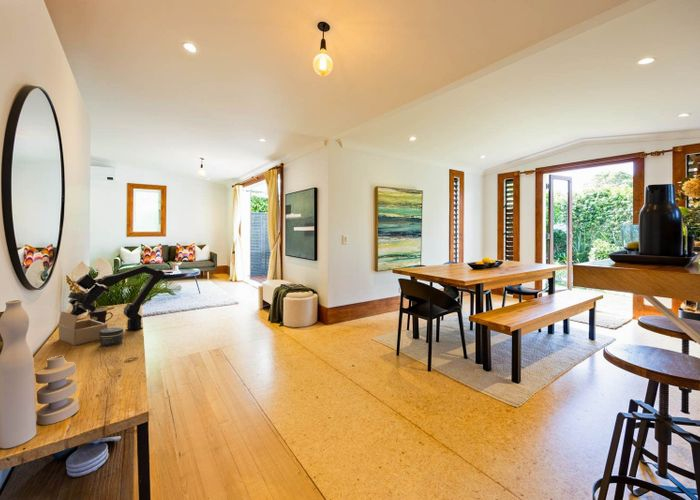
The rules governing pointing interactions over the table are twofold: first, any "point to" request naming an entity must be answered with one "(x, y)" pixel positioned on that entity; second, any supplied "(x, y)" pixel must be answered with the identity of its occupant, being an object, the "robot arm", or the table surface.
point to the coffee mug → (99, 315)
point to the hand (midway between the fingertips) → (68, 318)
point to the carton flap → (68, 320)
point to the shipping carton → (81, 332)
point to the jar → (111, 336)
